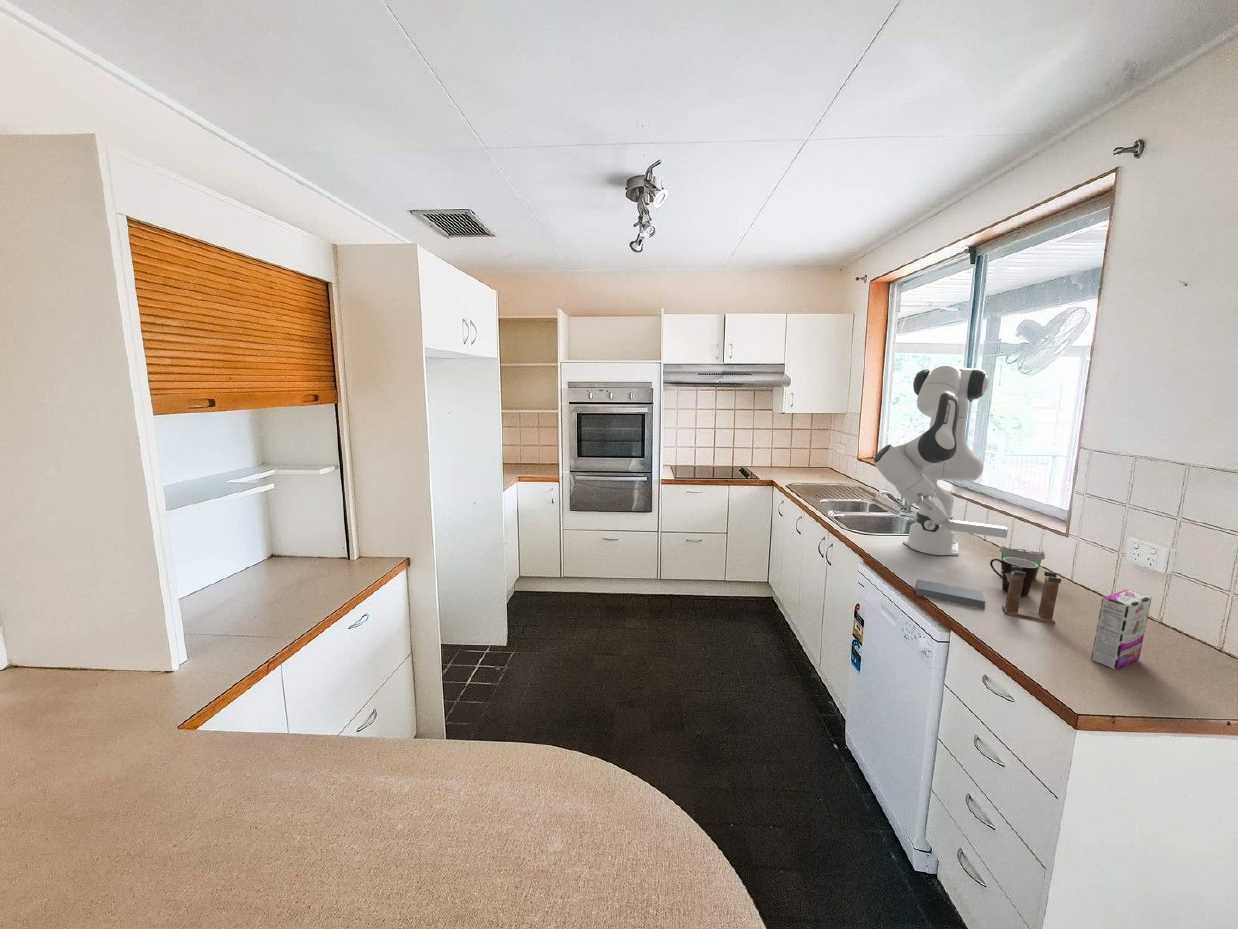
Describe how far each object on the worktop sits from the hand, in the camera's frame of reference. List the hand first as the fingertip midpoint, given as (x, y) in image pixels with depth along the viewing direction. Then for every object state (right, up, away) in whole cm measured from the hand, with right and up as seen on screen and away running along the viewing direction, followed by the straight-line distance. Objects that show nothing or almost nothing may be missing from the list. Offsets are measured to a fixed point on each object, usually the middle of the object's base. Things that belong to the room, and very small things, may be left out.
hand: (952, 527), depth 146 cm
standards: (+16, -24, -8) cm, 30 cm away
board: (+1, -22, +4) cm, 22 cm away
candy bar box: (+19, -29, -29) cm, 45 cm away
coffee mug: (+25, -22, +9) cm, 35 cm away
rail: (+4, -1, -2) cm, 5 cm away
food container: (+36, -20, +18) cm, 45 cm away
